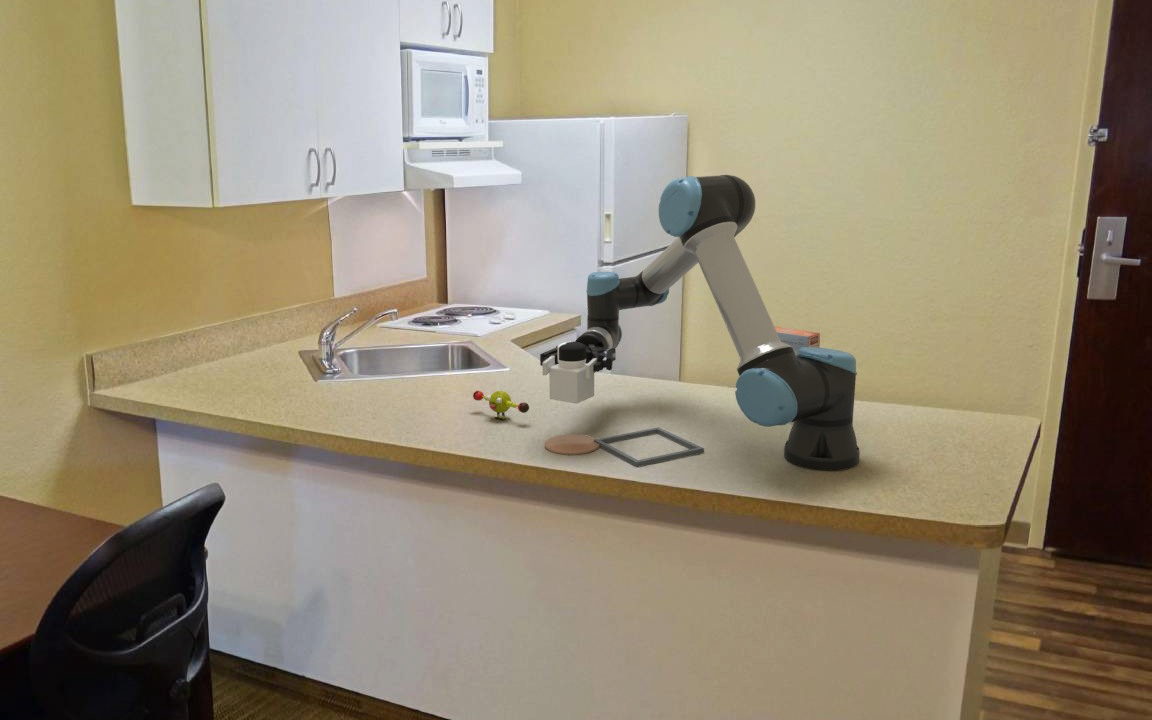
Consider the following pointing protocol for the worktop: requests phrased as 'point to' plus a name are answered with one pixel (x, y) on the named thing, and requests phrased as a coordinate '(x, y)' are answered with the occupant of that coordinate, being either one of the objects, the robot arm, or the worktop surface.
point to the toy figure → (500, 402)
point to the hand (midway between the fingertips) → (565, 370)
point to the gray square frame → (692, 450)
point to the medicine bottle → (570, 374)
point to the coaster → (571, 444)
